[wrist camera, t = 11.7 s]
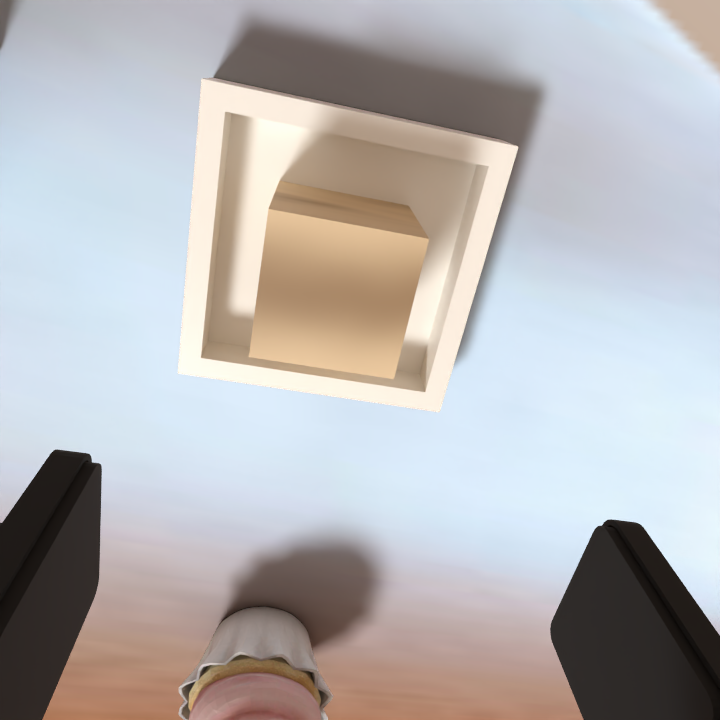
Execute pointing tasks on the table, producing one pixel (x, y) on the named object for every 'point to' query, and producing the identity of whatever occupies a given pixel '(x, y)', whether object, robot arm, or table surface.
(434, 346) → the tray
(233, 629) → the cupcake
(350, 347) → the cube
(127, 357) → the table surface
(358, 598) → the table surface
